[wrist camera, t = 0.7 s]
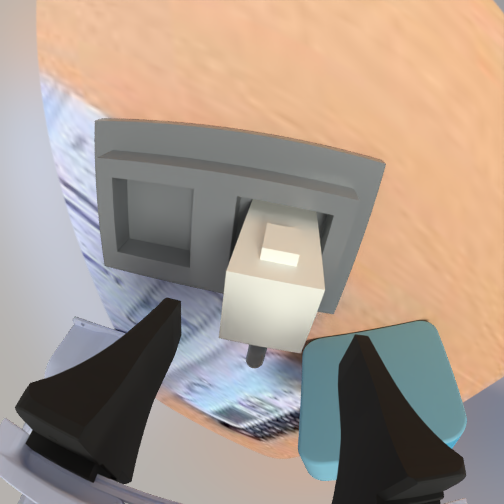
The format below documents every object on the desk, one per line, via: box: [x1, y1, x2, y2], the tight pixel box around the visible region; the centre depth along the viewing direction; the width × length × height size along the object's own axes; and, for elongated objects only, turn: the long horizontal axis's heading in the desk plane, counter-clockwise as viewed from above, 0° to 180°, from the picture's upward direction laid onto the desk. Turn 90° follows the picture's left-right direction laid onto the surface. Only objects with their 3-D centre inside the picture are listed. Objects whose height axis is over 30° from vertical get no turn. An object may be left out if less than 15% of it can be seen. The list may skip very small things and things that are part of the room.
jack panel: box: [95, 118, 386, 314], centre depth 20 cm, size 19×12×3 cm, turn 82°
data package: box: [298, 321, 467, 481], centre depth 21 cm, size 12×4×12 cm, turn 107°
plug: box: [219, 199, 325, 368], centre depth 17 cm, size 4×8×8 cm, turn 172°
